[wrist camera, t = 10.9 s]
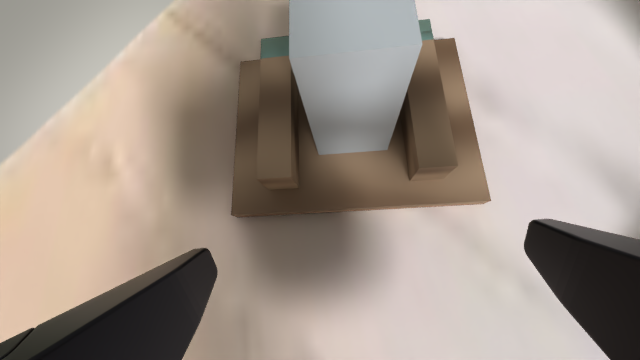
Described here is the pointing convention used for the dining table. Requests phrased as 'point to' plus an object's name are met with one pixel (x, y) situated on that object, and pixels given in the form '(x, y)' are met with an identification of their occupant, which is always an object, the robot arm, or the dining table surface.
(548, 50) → the dining table surface
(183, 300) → the robot arm
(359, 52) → the block
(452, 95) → the brown wooden holder
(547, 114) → the dining table surface
